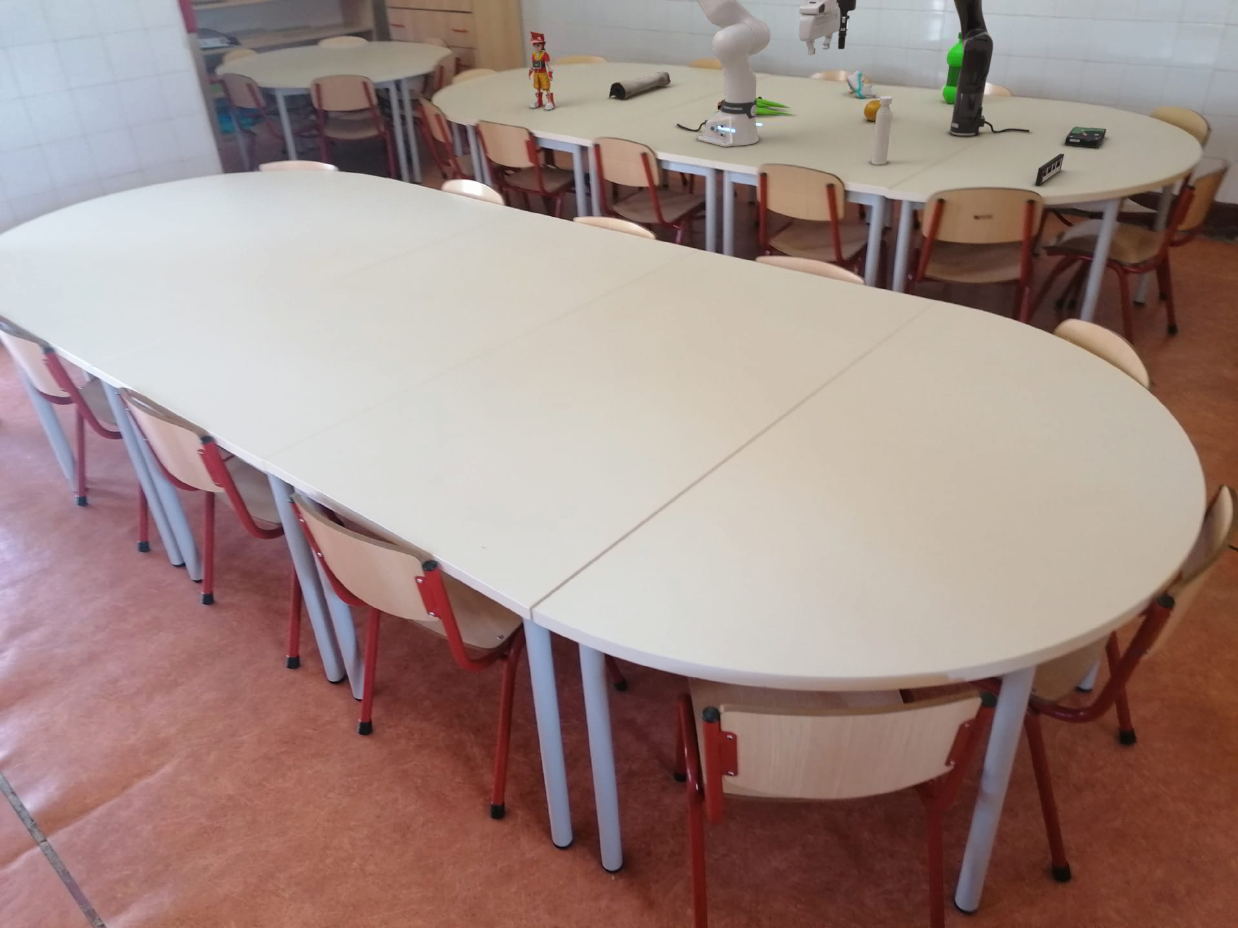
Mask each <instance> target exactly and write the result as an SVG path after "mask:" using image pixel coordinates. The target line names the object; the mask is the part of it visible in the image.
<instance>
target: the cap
mask: <svg viewBox="0 0 1238 928" xmlns="http://www.w3.org/2000/svg"><path fill="white" fill-rule="evenodd" d="M879 100H880V104H882V105H889V106H890V105H891V104H892V101H893V97H892V96H890V95H883V96H880V97H879Z"/></svg>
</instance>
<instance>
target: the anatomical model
mask: <svg viewBox="0 0 1238 928" xmlns="http://www.w3.org/2000/svg"><path fill="white" fill-rule="evenodd" d="M862 77H863V74H862V72H860V71H859V70H858V69H856V70H854V72H853V74H851V75H848V76H846V82H847V85H848V86H849V90H850V91H853V92H856V94H857V96H858V97H859V98H860V99H866V97H876V96H877V95H878V93H877V92H873V91H872V88H873V86H874V85H875V83H873V82H871V83H869V84H867V85H864V82H865V81H866V77H864V78H862Z"/></svg>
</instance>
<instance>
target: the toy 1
mask: <svg viewBox="0 0 1238 928" xmlns="http://www.w3.org/2000/svg"><path fill="white" fill-rule="evenodd" d="M529 33H530V35H531V36H528V37H527V38H528V39H529V40H528V41H527V43H529V44H530V43H531V44H532V48H533V50H534V51H533V52H532V55H531V58H530V59H531V63H530V66H528V74H527V75H528V76H527V77H528V79H529V80H531V75H532V74H533V84H532V85H533V86H532V87H533V88H534V89H535V90H536V92H534V95H535V97H536V100H535V101H533V102H531V105H530V108H531V109H535V108H538V107H542V106H544V101H543V100H544V99H543V95H544V92H546V94H545V97H546V99H547V103H546V104H545V106H544V110H546V111H549V110H553V109H554V107H555V106H556V105H555V99H554V92H551V91H550V90H551V86H552V84H551V82H552V81H553V80H554V77H553V73H554V71H555V70H554V69H552V68H551V63H550V61H551V59H550V58H551V57H550V54H549V53H548V52H547V50H546V48H545V46H546V44H547V41H545V35H544V33H543V32H542V33H539V32H535V31H529Z"/></svg>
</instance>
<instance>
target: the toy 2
mask: <svg viewBox="0 0 1238 928" xmlns="http://www.w3.org/2000/svg"><path fill="white" fill-rule="evenodd" d="M756 99H757V112H756V115H788V116H789V115H790V116H791V115H794V114H793V113H788V112H783V111H776V110H773V109H769V108H780V109H790V106H786V105H785V104H782V103H779V102H777V101H776V102H775V101H772V100H768V99H763V98H762V96H758V97H756ZM719 104H720V103H719V102H717V108H716V109H717V111H720V108H721V105H720V106H718V105H719Z"/></svg>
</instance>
